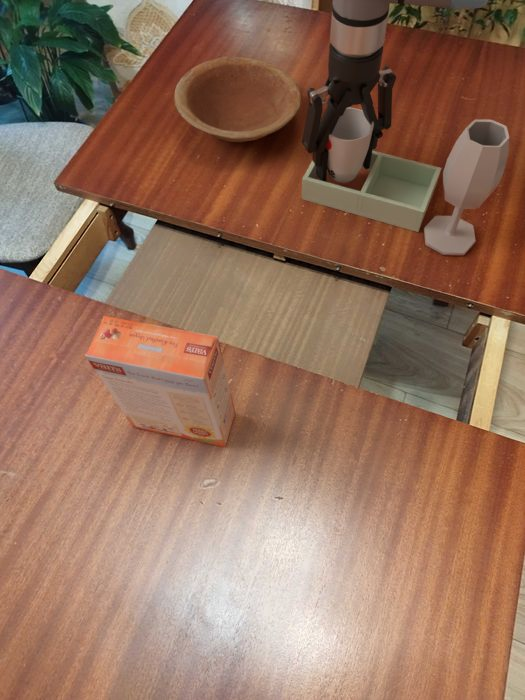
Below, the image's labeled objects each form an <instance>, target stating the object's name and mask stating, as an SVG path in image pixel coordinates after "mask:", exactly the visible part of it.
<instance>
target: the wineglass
mask: <svg viewBox="0 0 525 700" xmlns="http://www.w3.org/2000/svg"><path fill="white" fill-rule="evenodd" d="M509 150H510V133H509V130H508V126H507V125H504V124H502V123H500V122H498V121H495V120H494V119H473V121H471V122H470V123H469V124H468V125H467V126H466V127H465V129H464V130H463V131H462V132H461V134H460V136H458V138H457V139H456V141H455V143H454V145H453V147H452V149H451V150H450V153H449V155H448V157H447V159H446V162H445V166H444V169H443V172H442V191H443V196H444V201H445V202H447V203H448V204H450V205H452V206H454V209H453V212H452V215H434V217H433V218H432V219H431V220H430V221H428V223H427V224H426V225H425V226H424V227H423V234H424V236H423V237H424V244H425V245H424V246H426V247H428V248H429V249H431V250H433V251H435V252H437V253H439V254H440V255H442V256H465V255H466V254H467V252H469V250H470V249H471V248H472V247H473V246H474V245H475V243H476V242H477V240H476V234H475V228H474V224H471V223H470V222H468V221H466V220H464V219H462V215H463V212H464V210H467V209H469V210H478V209H479V208H480V207H482V206H483V204H484V203H485V202H486V201H487V200H488V199H489V197H490V196H491V195H492V194H493V193H494V192H495V190H496V189H497V187H498V186H499V185H500V182H501V180H502V177H503V175H504V173H505V168H506V164H507V161H508V156H509V153H510V151H509Z"/></svg>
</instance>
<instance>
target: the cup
mask: <svg viewBox="0 0 525 700" xmlns="http://www.w3.org/2000/svg"><path fill="white" fill-rule="evenodd" d="M373 127H374V122H372V124H371V125H370V124H369V122H368V121H367V119H366V118H365V116H364V113H363V110H362V109H359V108H356V107H348V108H346V110H345V112H344V114H343V115H342V116H340V117H339V120H338V122H337V124H336V126H335V128H334V130H333V132H332V134H329V141H328V143H327V145H326V147H325V148H326V149H327V150H328V165H327V170H328V173H329V176H330V177H331V178H332V179H333V180H335V181H337V182H349V181H352V180H353V179H354V178H355V177H356V176H357V174H358V172H359V170H360V169H361V167H362V165H363V162H364V159H365V157H366V154H367V151H368V148H369V144H370V140H371V135H372V131H373Z"/></svg>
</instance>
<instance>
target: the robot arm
mask: <svg viewBox="0 0 525 700" xmlns="http://www.w3.org/2000/svg"><path fill="white" fill-rule="evenodd" d="M488 2H489V0H332V7H331V19H330V32H329V33H330V34H329V35H330V36H329V40H330V43H329V49H328V65H327V72H328V75H327V78H326V81H325V83H324V85H323V86H322V87H320V88H318V89H315V88H314V87H310V88H308V90H307V97H308V98H307V99H308V107H307V112H306V117H305V122H304V128H303V132H302V133H303V134H302V139H301V143H302V145H303V147H304V148H305V150H306V151H307V153H308V154H312V156H311V159H312V160H311V162H312V161H313V162H314V164H315V166H316V174H317V176H318V177H319V179H320V180H321V181H324V182H326V177H327V165H328V150H327V149H326V148H325V147H326V145H327V143H328V141H329V134H332V132H333V130H334V128H335V126H336V124H337V122H338V120H339V117H340V116H342V115H343V114H344V112H345V110H346V108H351V107H353V106H357V105H358V106H359V105H360V107H361V110H362V111H363V113H364V116H365V118H366V119H367V121H368V122H369V124H370V125H371V124H372V122H374V127H373V131H372V135H371V140H370V144H369V148H368V151H367V154H366V157H365V159H364V162H363V167H364V168H365V169H369V168H370V162H371V156H372V150H373V151H374V150H376V148H377V146H378V140H379V139H381V138H382V137H383V135H384V132H382V131H383V130H389V129H390V128H391V127H392V117H393V116H392V113H393V110H392V109H393V88H394V86H395V83H396V80H397V75H396V74H395V72H394V71H392V69H391V68H390V67H389V66H388V65H385V66H384V67H383V68H382V69H381V65H382V58H383V53H384V44H385V41H386V35H387V28H388V18H389V13H390V6H391V5H393V4H394V5H395V4H396V5H409V6H422V7H432V8H444V9H451V10H454V11H455V10H458V9H480V8H483V7H484V6H486V5H487V3H488ZM376 86H377V113H376V110H375V107H374V101H373V98H372V95H371V93H372V91H373V90H374V88H375V87H376ZM327 97H328V99H327V100H326V98H327ZM325 101H326V102H325ZM325 105H326V108H325V111H324V110H323V106H325ZM323 111H324V113H323Z"/></svg>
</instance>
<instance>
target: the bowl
mask: <svg viewBox="0 0 525 700" xmlns="http://www.w3.org/2000/svg"><path fill="white" fill-rule="evenodd" d="M301 96H302V95H301V91H300V88H299V86H298V83H297V82H296V81H295V80H294V78H293V77H292V76H291V75H290V74H288V73H287V72H286V71H285V70H283V69H282V68H280V67H279V66H277V65H274V64H272V63H270V62H267V61H264V60H262V59H259V58H252V57H244V56H228V55H227V56H226V55H225V56H221V57H217V58H214V59H209V60H207V61H204V62H201V63H200V64H197V65H195V66H194V67H192V68H190V69H189V70H188V71H187V72H186V73H185V74H184V75H183V76H181V78H180V79H179V80H178V82H177V84H176V86H175V89H174V95H173V99H174V104H175V107H176V110H177V111H178V113H179V115H180V116H181V117H182V118H183V120H185V121H186V122H187V123H188V124H189V125H191V126H192V127H194V128H196V129H197V130H200V131H202V132H204V133H207V134H209V135H210V136H212V137H214V138H215V139H218V140H220V141H225V142H230V143H245V142H252V141H253V142H254V141H257V140H259V139H260V140H261V139H263V138H264V137H267V136H269V135H271V134H273V133H275V132H277V131H279V130H280V129H282V128H284V127H285V126H286V125H287V124H288V123H289V122H290V121H292V120H293V119H294V118H295V115H297V113H298V112H299V109H300V107H301V102H302V101H301V100H302V99H301V98H302V97H301Z"/></svg>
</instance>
